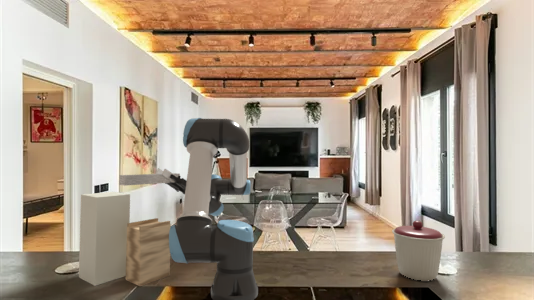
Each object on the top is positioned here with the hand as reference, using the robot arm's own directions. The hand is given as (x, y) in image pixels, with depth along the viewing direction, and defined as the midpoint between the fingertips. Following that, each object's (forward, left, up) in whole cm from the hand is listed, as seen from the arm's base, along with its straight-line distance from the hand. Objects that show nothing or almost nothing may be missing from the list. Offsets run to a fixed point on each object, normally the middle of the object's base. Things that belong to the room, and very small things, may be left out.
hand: (160, 171), depth 122 cm
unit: (+10, +16, -38) cm, 43 cm away
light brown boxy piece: (-4, +7, -38) cm, 39 cm away
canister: (-83, -56, -39) cm, 107 cm away
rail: (0, +4, -4) cm, 6 cm away
